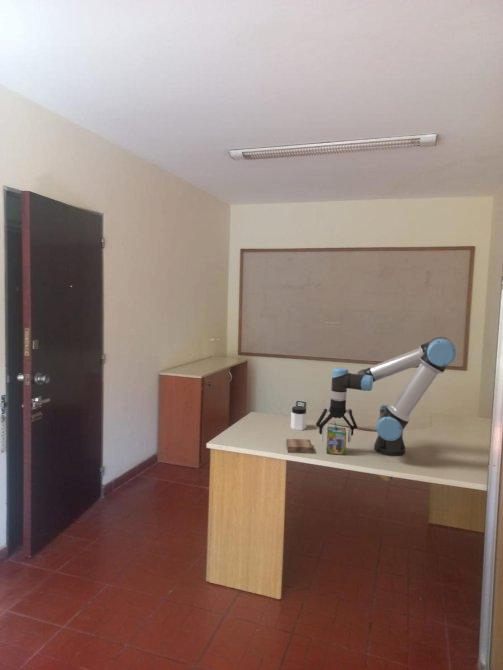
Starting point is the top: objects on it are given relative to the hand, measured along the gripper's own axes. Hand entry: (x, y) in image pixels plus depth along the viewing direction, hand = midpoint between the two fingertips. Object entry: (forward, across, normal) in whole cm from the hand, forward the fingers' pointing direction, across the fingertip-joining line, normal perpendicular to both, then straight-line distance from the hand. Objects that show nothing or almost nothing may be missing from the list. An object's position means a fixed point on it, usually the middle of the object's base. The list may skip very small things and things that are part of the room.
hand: (335, 441), depth 228 cm
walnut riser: (+6, +18, -2) cm, 19 cm away
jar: (+6, +15, -37) cm, 40 cm away
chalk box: (+6, 0, 0) cm, 6 cm away
